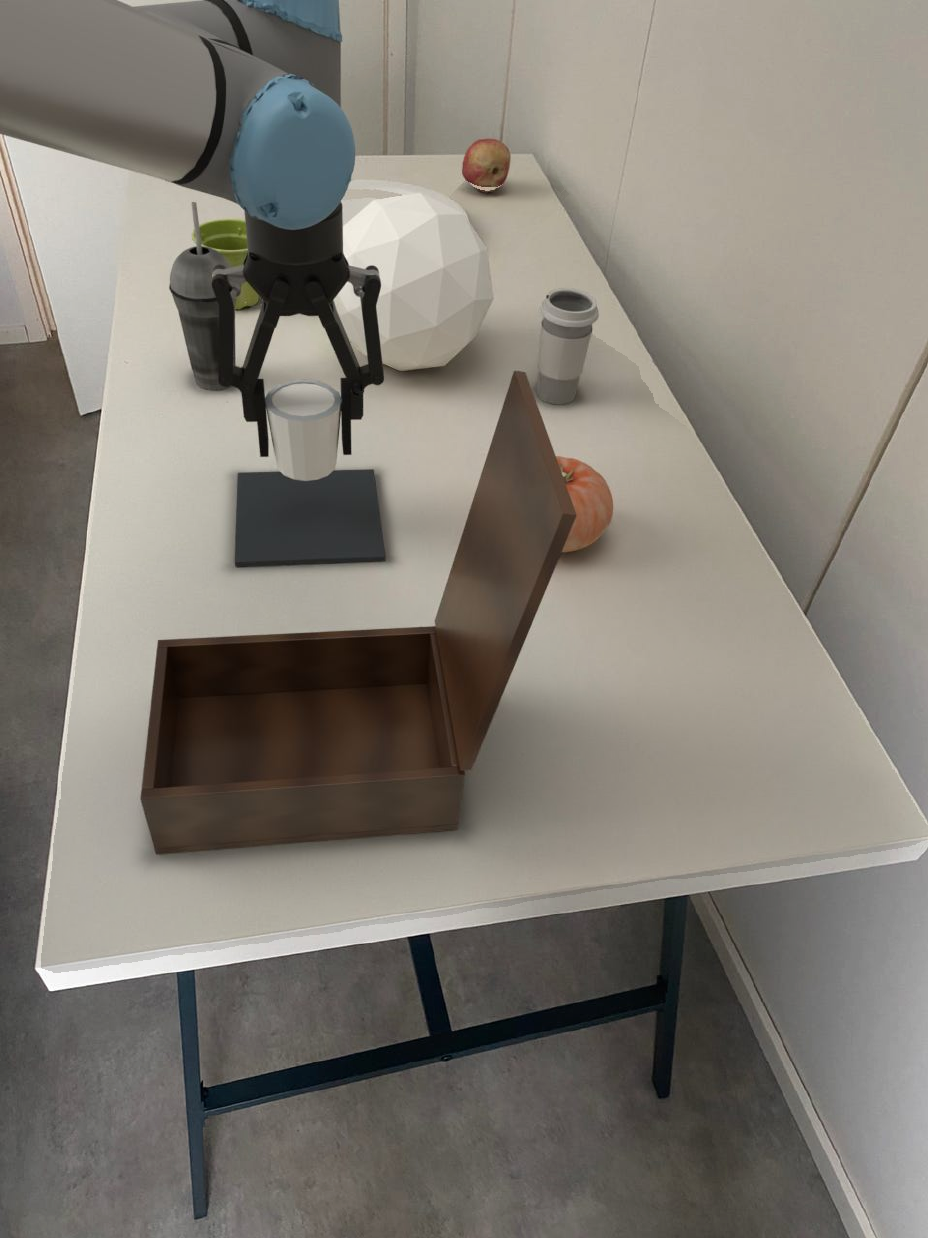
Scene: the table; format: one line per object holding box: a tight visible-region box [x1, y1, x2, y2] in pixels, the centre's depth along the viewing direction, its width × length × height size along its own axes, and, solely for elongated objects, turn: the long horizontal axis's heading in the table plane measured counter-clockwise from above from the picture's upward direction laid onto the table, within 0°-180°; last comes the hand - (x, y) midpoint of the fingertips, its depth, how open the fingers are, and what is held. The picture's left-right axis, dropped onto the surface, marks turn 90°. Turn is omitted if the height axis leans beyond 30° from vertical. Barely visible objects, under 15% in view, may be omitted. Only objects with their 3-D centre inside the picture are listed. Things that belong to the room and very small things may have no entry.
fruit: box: [461, 138, 512, 194], centre depth 157 cm, size 8×8×8 cm
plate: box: [341, 178, 470, 226], centre depth 144 cm, size 28×28×2 cm
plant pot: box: [191, 218, 260, 310], centre depth 124 cm, size 9×9×9 cm
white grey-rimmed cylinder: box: [265, 379, 342, 481], centre depth 89 cm, size 7×7×7 cm
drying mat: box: [234, 468, 386, 568], centre depth 96 cm, size 14×14×1 cm
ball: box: [333, 193, 495, 372], centre depth 113 cm, size 19×20×20 cm
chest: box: [140, 625, 466, 855], centre depth 72 cm, size 22×15×7 cm
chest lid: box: [434, 370, 577, 772], centre depth 64 cm, size 23×15×1 cm
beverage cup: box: [168, 201, 237, 391], centre depth 105 cm, size 7×7×20 cm
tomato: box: [555, 455, 614, 553], centre depth 94 cm, size 11×11×8 cm
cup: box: [536, 287, 600, 406], centre depth 112 cm, size 7×7×12 cm
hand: (305, 447), depth 90 cm, fingers closed on white grey-rimmed cylinder, 7 cm apart
